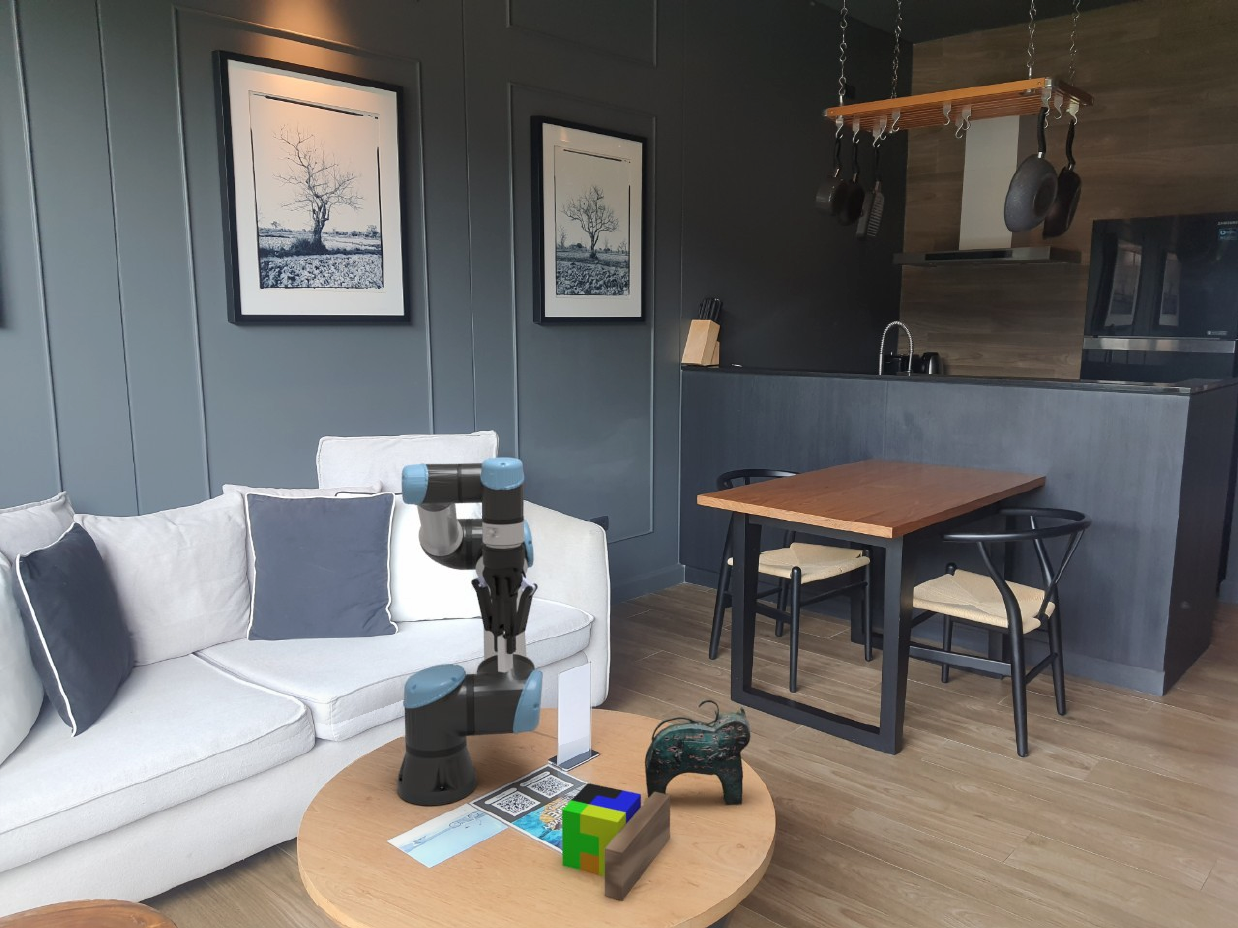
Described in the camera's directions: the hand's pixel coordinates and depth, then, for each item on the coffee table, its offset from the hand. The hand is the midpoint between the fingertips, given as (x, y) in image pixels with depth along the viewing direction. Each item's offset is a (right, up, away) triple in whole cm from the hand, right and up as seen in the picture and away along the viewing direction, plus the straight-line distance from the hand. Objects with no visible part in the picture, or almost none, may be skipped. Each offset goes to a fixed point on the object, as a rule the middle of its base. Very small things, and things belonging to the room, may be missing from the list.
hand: (505, 669), depth 169 cm
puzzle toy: (+18, -29, -14) cm, 37 cm away
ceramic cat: (+36, -26, +5) cm, 45 cm away
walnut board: (+24, -29, -16) cm, 41 cm away
